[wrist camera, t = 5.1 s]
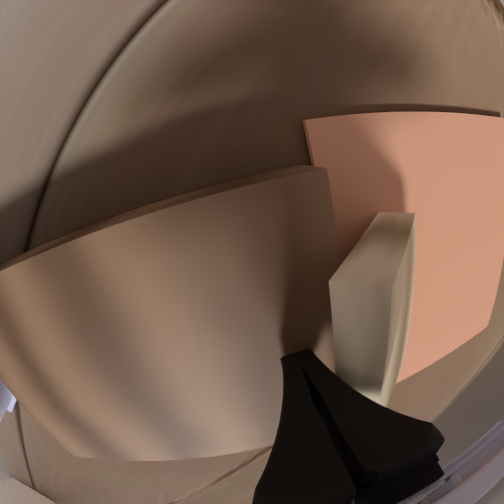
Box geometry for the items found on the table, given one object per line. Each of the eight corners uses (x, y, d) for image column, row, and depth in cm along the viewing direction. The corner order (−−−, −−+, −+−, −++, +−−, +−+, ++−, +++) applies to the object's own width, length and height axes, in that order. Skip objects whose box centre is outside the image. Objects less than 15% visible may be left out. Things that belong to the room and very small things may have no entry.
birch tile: (335, 436, 12) (368, 446, 10) (328, 281, 8) (391, 289, 7) (378, 353, 16) (404, 358, 15) (378, 211, 13) (415, 212, 12)
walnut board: (81, 431, 17) (74, 456, 14) (-25, 277, 11) (-49, 296, 8) (330, 393, 18) (344, 422, 15) (300, 164, 12) (326, 168, 9)
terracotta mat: (337, 404, 19) (338, 408, 18) (302, 120, 11) (305, 119, 11) (485, 324, 19) (487, 326, 19) (500, 117, 12) (503, 118, 12)
